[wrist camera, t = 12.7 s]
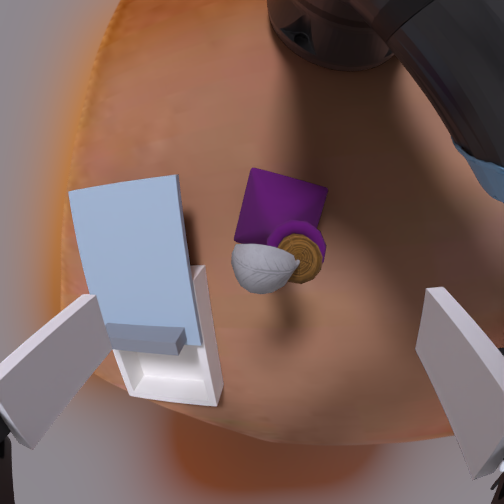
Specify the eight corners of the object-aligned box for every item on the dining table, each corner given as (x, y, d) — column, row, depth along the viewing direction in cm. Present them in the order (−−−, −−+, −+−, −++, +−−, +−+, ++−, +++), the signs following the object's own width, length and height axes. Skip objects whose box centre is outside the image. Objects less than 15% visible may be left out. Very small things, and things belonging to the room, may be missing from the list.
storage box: (110, 267, 38) (92, 280, 34) (204, 265, 36) (193, 280, 32) (141, 377, 44) (129, 395, 39) (223, 384, 42) (217, 406, 37)
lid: (72, 190, 30) (51, 196, 27) (178, 174, 28) (162, 178, 25) (106, 334, 36) (91, 350, 32) (202, 341, 34) (193, 362, 30)
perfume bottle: (325, 184, 32) (361, 224, 15) (305, 250, 34) (314, 349, 17) (255, 165, 32) (212, 183, 15) (238, 232, 34) (186, 314, 18)
